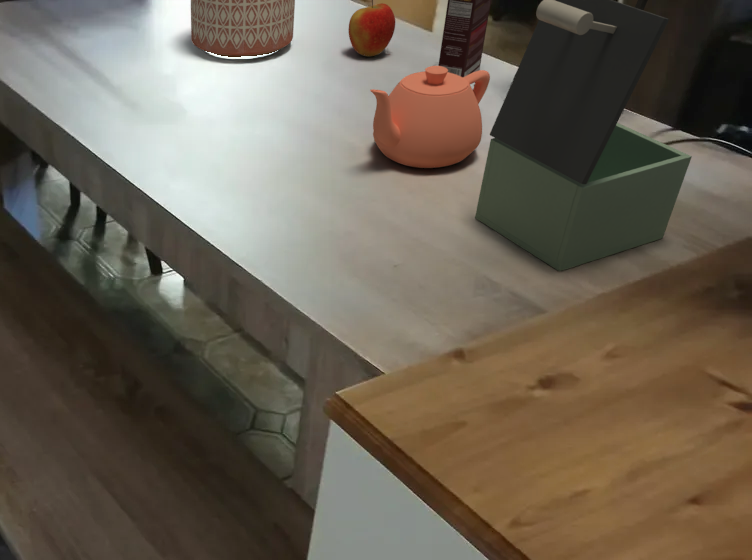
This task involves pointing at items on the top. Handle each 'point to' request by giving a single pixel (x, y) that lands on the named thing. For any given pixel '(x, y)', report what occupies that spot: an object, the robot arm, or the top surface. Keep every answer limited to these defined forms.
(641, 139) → the green open box
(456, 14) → the supplement box
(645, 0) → the robot arm
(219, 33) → the planter
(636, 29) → the lid
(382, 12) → the apple
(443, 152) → the teapot
